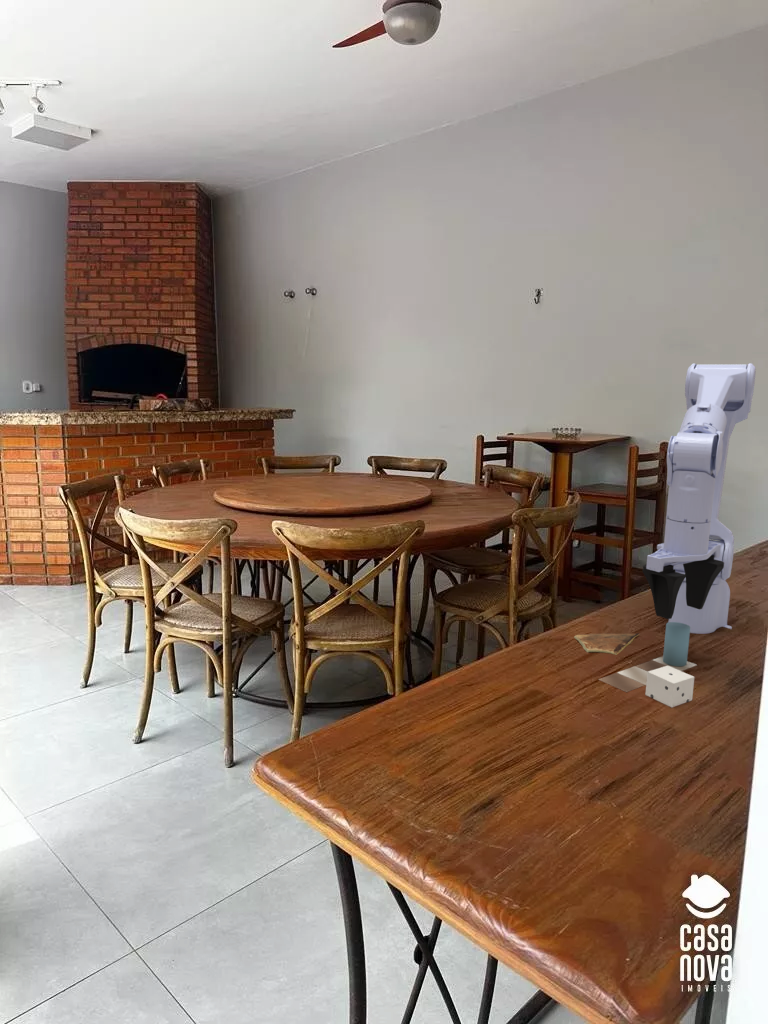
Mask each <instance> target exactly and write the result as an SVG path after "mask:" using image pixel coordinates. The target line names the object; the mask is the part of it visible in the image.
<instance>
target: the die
mask: <svg viewBox="0 0 768 1024" xmlns="http://www.w3.org/2000/svg"><path fill="white" fill-rule="evenodd" d="M694 685H695V676H693V675H691V674H688V673H686V672H684V671H680V670H677V669H675V668H672V667H670V666H665V667H661V668H658V669H655V670H651V671H648V672H647V682H646V685H645V696H647V697H649V698H651V699H654V700H655V701H657V702H659V703H661V704H663V705H665V706H668V707H670V708H674V707H677V706H681V705H683V704H685V703H689V702H691V701H693V694H694Z"/></svg>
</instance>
